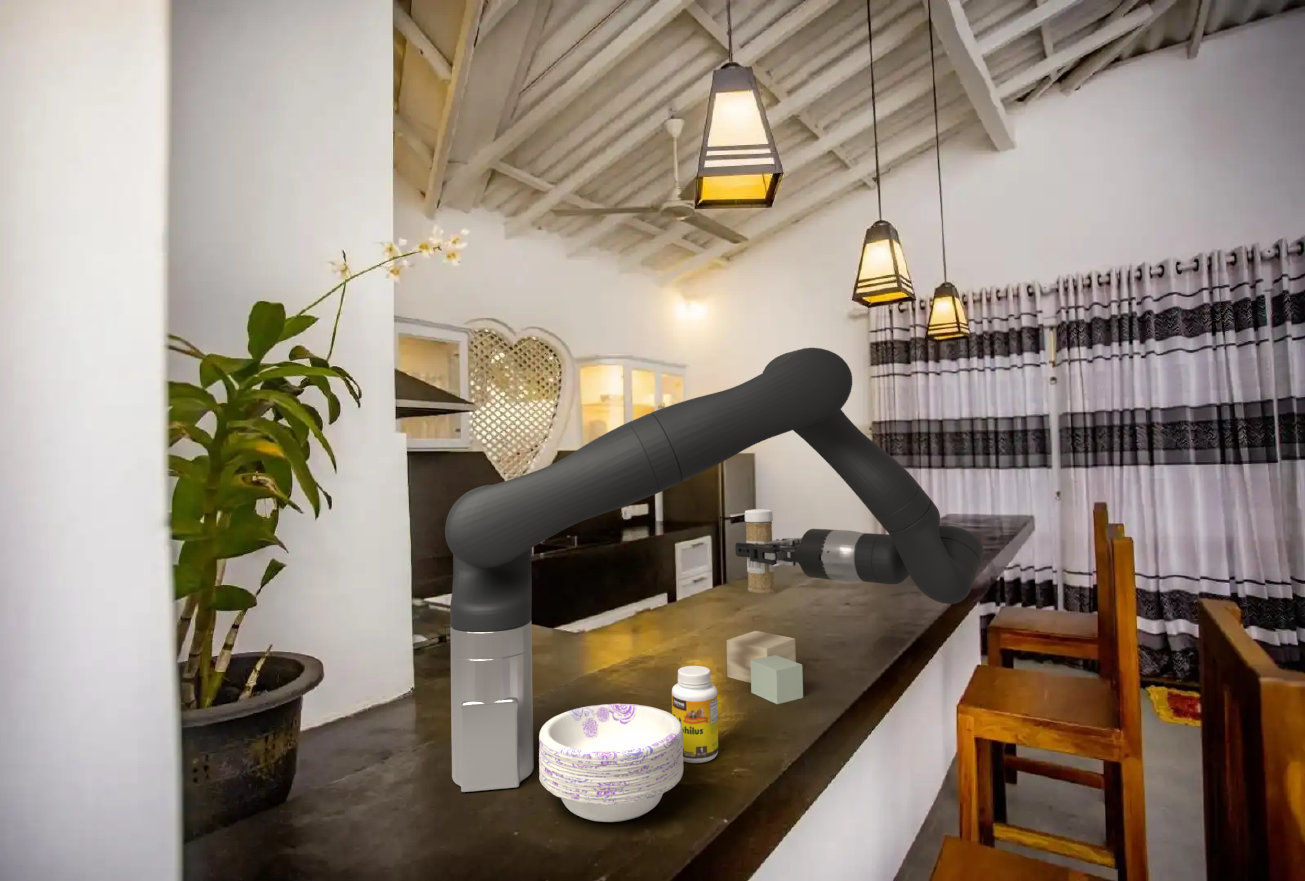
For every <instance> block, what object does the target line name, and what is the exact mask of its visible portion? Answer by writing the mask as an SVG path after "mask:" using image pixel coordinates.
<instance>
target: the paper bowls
mask: <svg viewBox="0 0 1305 881" xmlns="http://www.w3.org/2000/svg"><path fill="white" fill-rule="evenodd" d="M538 734H539V736H538V739H539V740H538V741H539V742H538V743H539V749H538V751H539V752H538V754H539V755H538V758H539V759H538V762H539V763H538V764H539V765H538V767H539V768H538V769H539V770H538V772H539V778H538V779H539V781H540V784H541V785H542V786H543V787H544V788H545V789H546V790H547V791H548V792H549V793H551V794H552V795H554V796H555V797H558V798H560V799H561V801H562V803H563V804H564V806H565V808H567V809H568V810H569V811H570V812H571V813H573V814H574V815H575V816H579V817H580V818H582V819H586V820H589V821H593V822H603V823H615V822H624V821H628V820H632V819H635V818H639V817H641V816H644V815H646V814H647V813H648V812H650V811H651V810H653V809H654V808H655V807H656V806H657V805H658V804H659V802H660V801H661V799H662V797H663V794H664V793H666V792H668V791H670V790H671V789H673V788H674V787H675V786H676V785H677V784H678V783H679V782H680V781H681V779H682V777H683V775H684V761H683V728H682V725H681V723H680V722H679V720H678V719H677V718H676V717H675V716H673V715H672V713H671V712H668V711H666V710H663V709H660V708H657V707H653V706H648V705H643V704H642V705H641V704H633V703H632V704H631V703H608V704H607V703H606V704H596V705H588V706H584V707H583V706H582V707H579V708H578V707H577V708H573V709H571V710H567V711H565V712H562V713H560V714H558V715H555V716H553V717H551V718H550V719H549V720H547V721H546V722H545V723H544V724H543V725H542V726H541V729H540V731H539V733H538Z"/></svg>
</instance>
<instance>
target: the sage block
mask: <svg viewBox="0 0 1305 881" xmlns="http://www.w3.org/2000/svg"><path fill="white" fill-rule="evenodd" d="M803 681H804V680H803V664H801V663H799V662H797V661H796V662H794V661H791V660H788V659H785V658H783V657H780V656H777V655H773V656H769V657H764V658H759V659H754V660H751V683H750V688H751V690H750V692H751V694H754V695H756V696H758V697H760V698H763V699H765V700H766V701H769V702H771V703H774V704H775V705H779V704H784V703H788V702H793V701H796V700H800V699H803V698H804V684H803V683H804V682H803Z"/></svg>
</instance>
